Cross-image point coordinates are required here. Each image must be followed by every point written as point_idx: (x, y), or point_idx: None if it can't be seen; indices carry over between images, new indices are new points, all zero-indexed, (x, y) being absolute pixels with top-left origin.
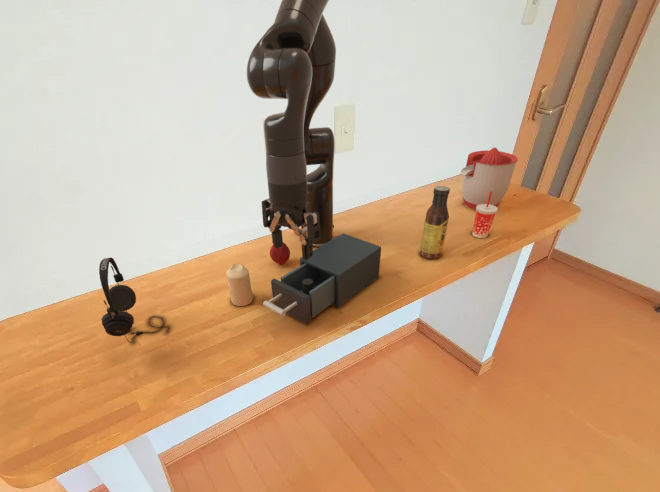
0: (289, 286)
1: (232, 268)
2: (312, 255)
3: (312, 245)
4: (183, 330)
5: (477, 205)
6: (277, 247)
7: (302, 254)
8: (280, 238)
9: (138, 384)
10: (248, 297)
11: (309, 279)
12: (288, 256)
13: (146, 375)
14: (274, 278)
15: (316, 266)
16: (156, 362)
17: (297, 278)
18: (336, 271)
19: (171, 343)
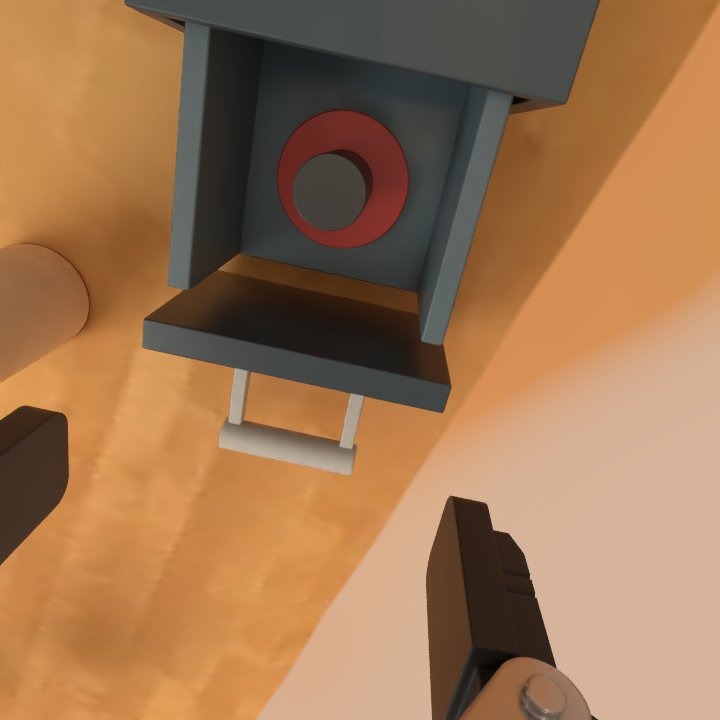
0: (285, 354)
1: None
2: (512, 542)
3: (550, 658)
4: None
5: None
6: (61, 483)
7: (430, 620)
8: (1, 487)
9: (128, 711)
10: (69, 316)
11: (326, 163)
12: None
13: (116, 688)
14: (147, 321)
15: (323, 49)
16: (93, 651)
17: (223, 143)
18: (524, 53)
19: (53, 588)
